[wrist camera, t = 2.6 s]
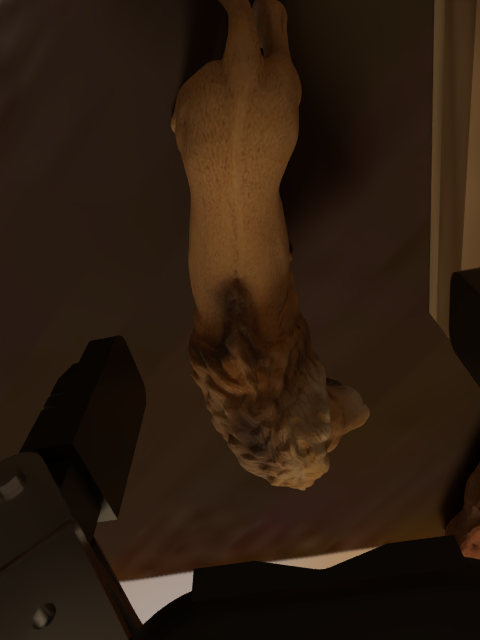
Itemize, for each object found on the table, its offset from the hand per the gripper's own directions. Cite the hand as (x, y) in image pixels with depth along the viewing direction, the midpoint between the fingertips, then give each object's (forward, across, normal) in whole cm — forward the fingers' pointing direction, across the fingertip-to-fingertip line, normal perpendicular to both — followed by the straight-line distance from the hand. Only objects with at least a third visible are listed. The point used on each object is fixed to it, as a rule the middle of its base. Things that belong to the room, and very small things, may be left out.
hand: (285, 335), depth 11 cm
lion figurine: (+8, 0, -1) cm, 8 cm away
